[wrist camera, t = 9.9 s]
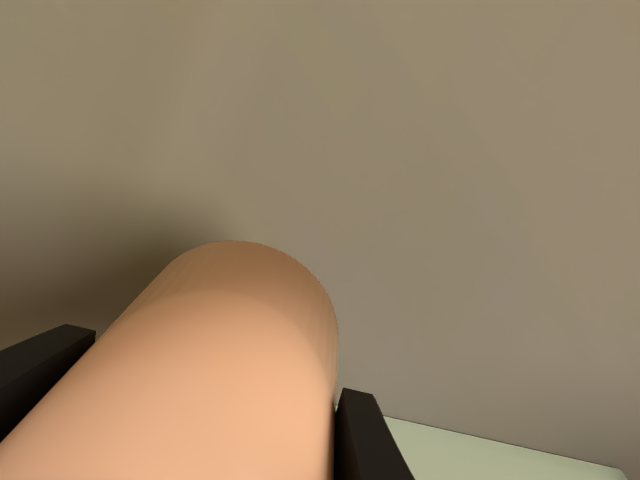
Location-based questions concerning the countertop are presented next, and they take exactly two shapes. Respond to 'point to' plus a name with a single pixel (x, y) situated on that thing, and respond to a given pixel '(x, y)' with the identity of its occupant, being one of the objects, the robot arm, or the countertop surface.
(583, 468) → the sage tote
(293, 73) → the countertop surface
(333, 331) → the terracotta cylinder
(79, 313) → the countertop surface
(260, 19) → the countertop surface
